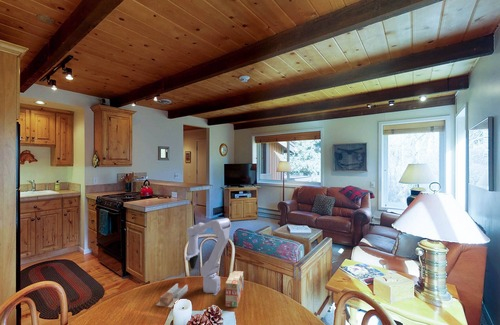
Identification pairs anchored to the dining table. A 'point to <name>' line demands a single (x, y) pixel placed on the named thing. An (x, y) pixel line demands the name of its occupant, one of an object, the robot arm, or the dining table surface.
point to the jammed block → (166, 299)
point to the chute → (176, 293)
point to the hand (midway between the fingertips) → (192, 267)
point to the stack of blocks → (234, 288)
